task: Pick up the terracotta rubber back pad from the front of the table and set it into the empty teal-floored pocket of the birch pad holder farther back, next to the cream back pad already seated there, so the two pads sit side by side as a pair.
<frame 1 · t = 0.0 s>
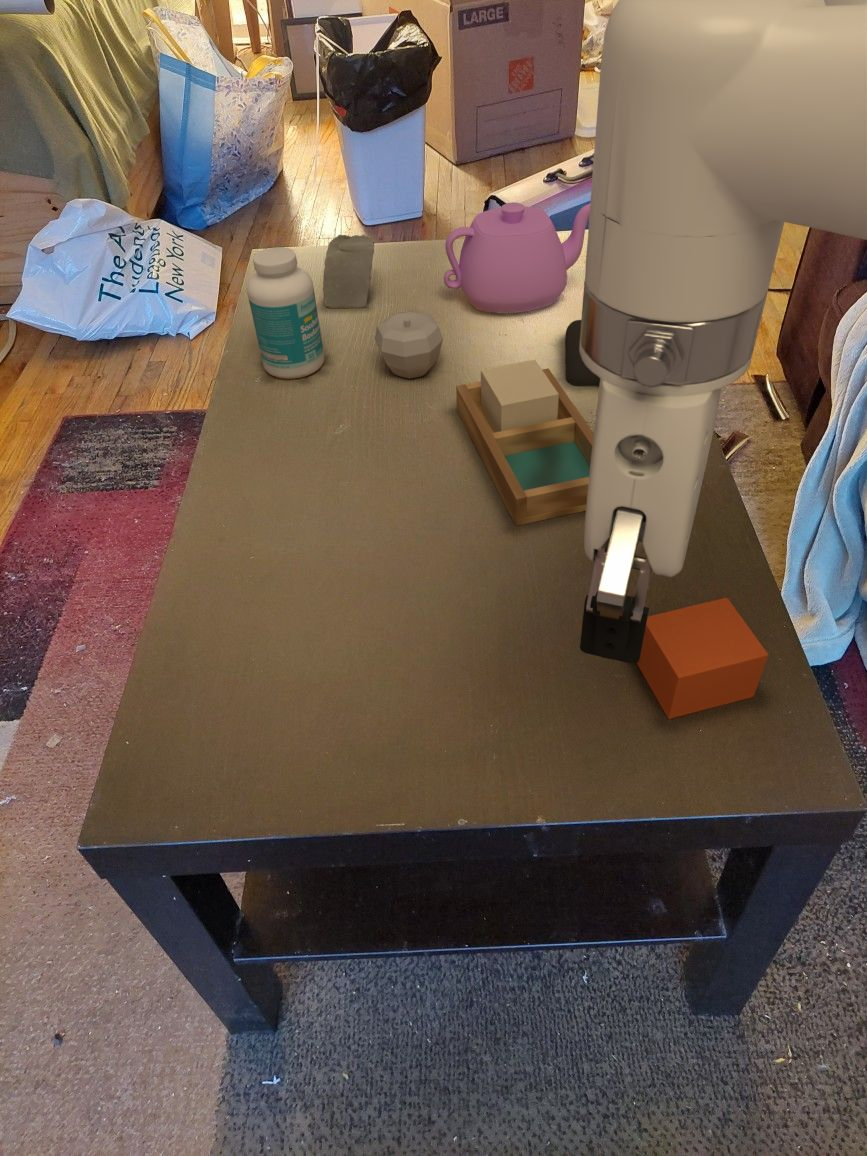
hand: (626, 592, 49), 17 cm above the table, tool pointing down, fingers open, 9 cm apart
pill bottle: (295, 366, 101), on the table
pad holder: (532, 454, 86), on the table
apple: (411, 372, 99), on the table
teapot: (520, 297, 111), on the table
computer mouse: (592, 361, 98), on the table
terracotta pad: (692, 678, 65), on the table
mineral specimen: (352, 297, 113), on the table
cream pad: (518, 422, 89), point 1 cm above the table, touching pad holder
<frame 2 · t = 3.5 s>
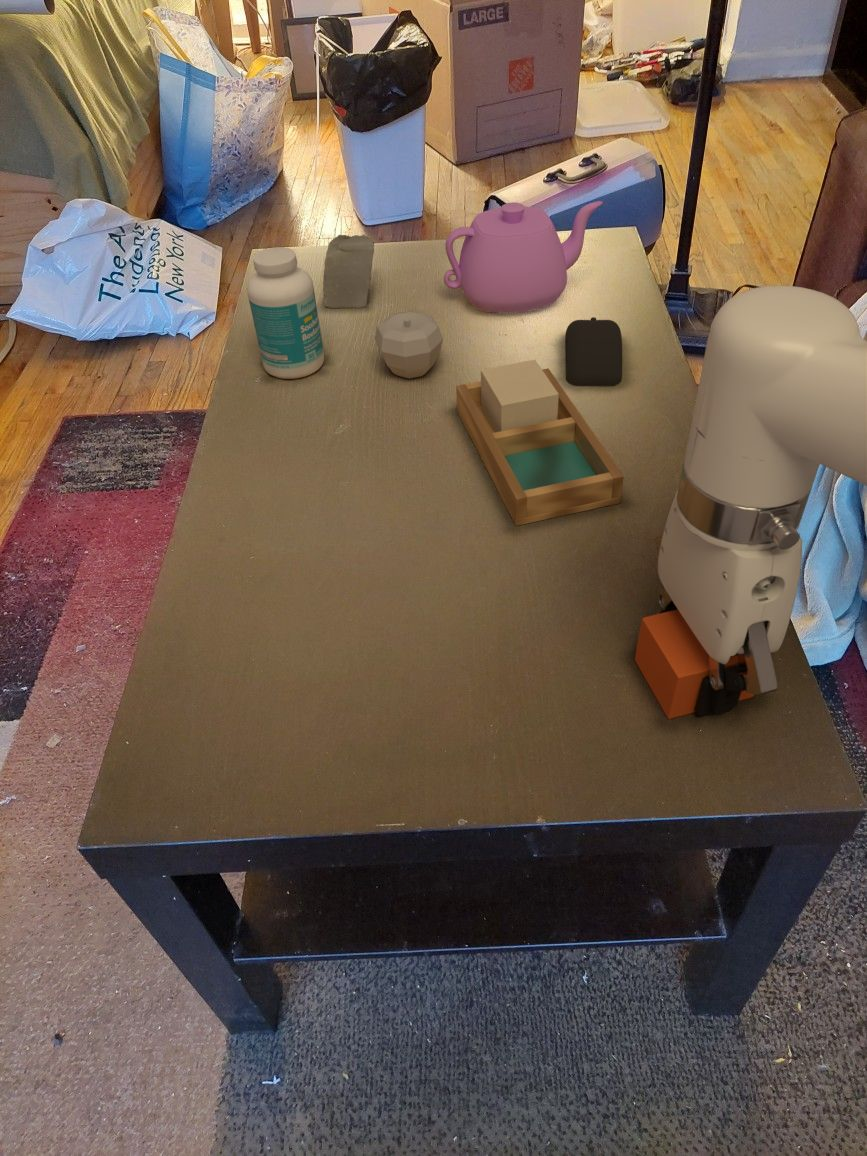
hand: (693, 673, 65), 1 cm above the table, tool pointing down, fingers closed on terracotta pad, 6 cm apart
terracotta pad: (692, 678, 65), on the table, touching gripper
everything else where it was.
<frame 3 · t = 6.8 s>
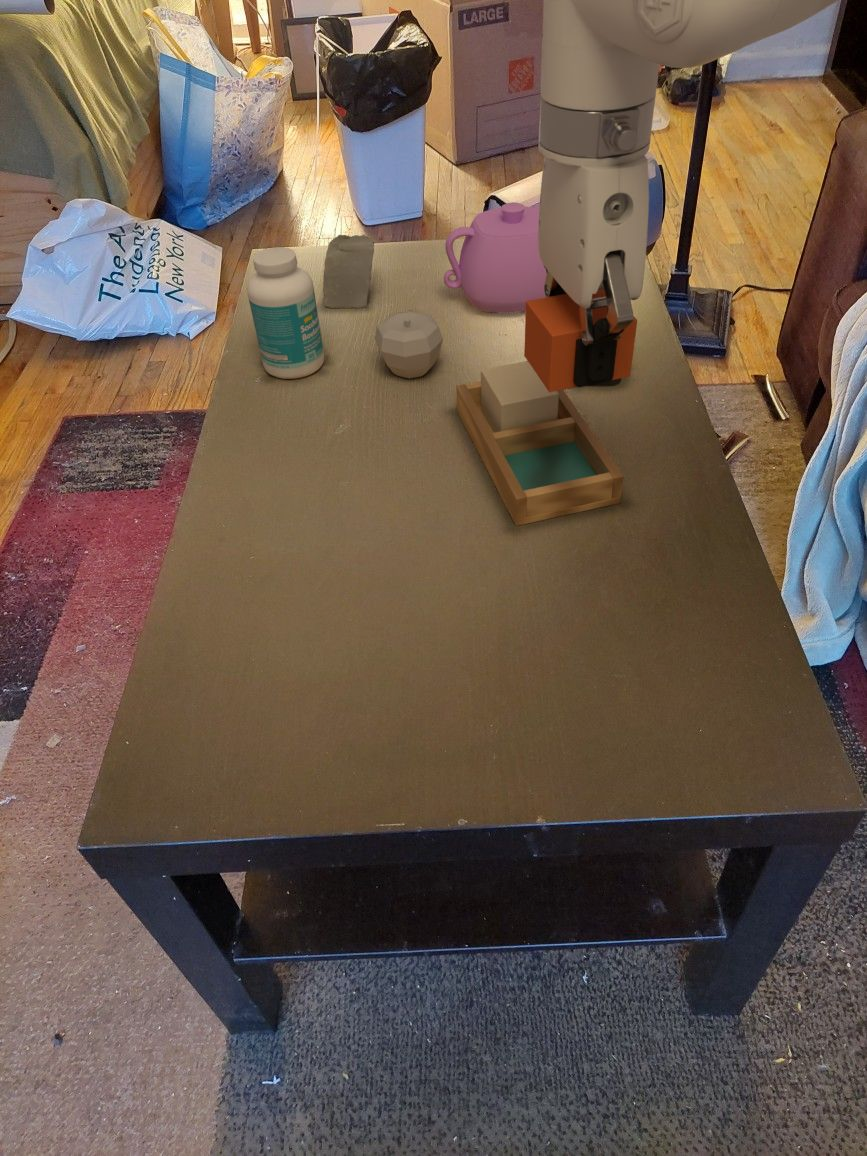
hand: (577, 359, 69), 16 cm above the table, tool pointing down, fingers closed on terracotta pad, 6 cm apart
terracotta pad: (576, 366, 70), point 15 cm above the table, touching gripper
everything else where it was.
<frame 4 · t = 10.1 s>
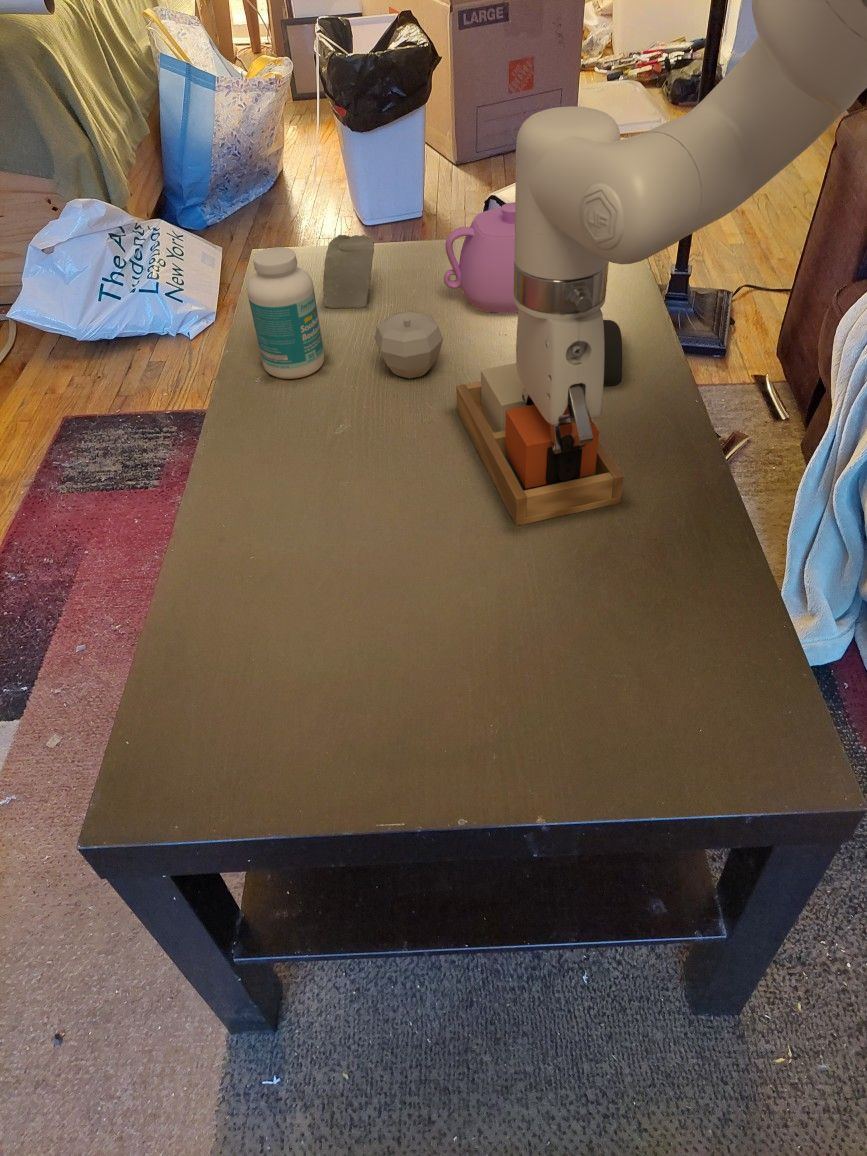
hand: (550, 458, 81), 3 cm above the table, tool pointing down, fingers closed on terracotta pad, 6 cm apart
terracotta pad: (549, 463, 81), point 2 cm above the table, touching gripper
everything else where it was.
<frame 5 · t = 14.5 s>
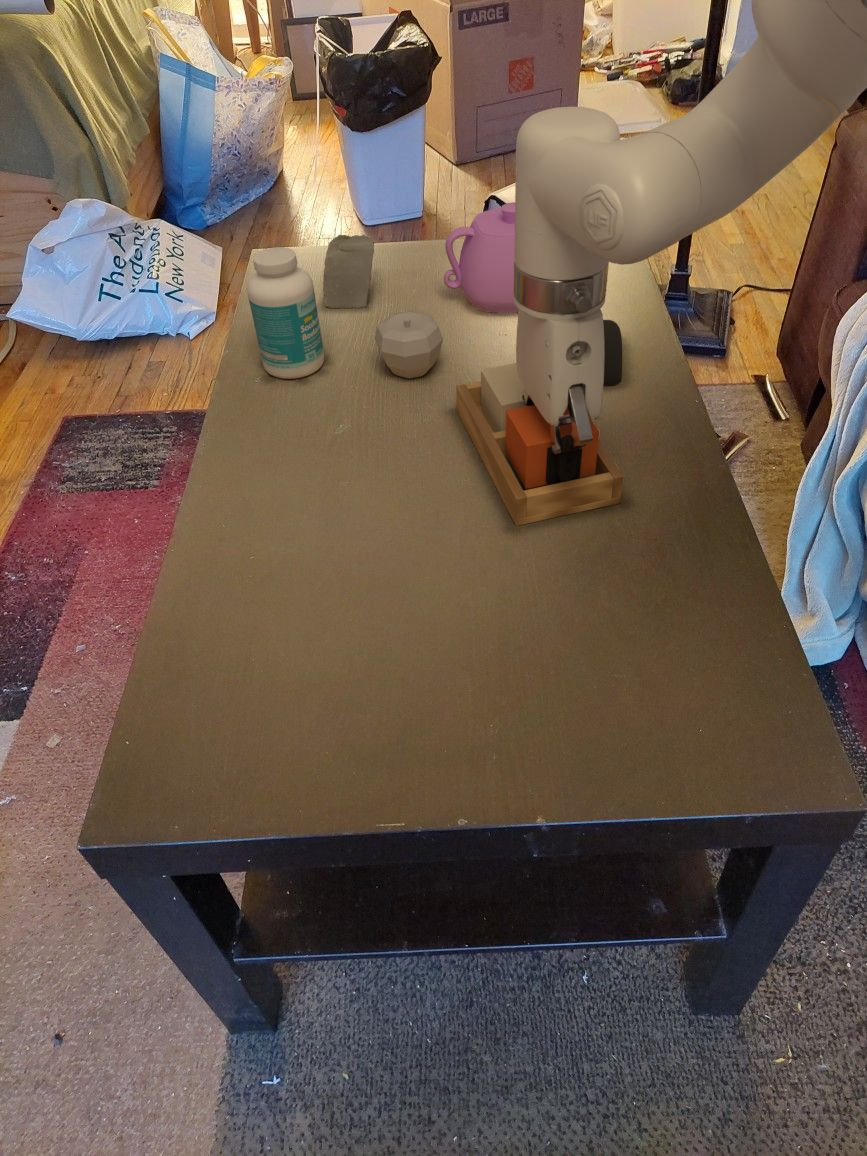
hand: (550, 458, 81), 3 cm above the table, tool pointing down, fingers closed on terracotta pad, 6 cm apart
terracotta pad: (549, 463, 81), point 2 cm above the table, touching gripper
everything else where it was.
when the fingers open (4 cm above the table, at t = 18.2 s): terracotta pad drops 2 cm, resting on pad holder.
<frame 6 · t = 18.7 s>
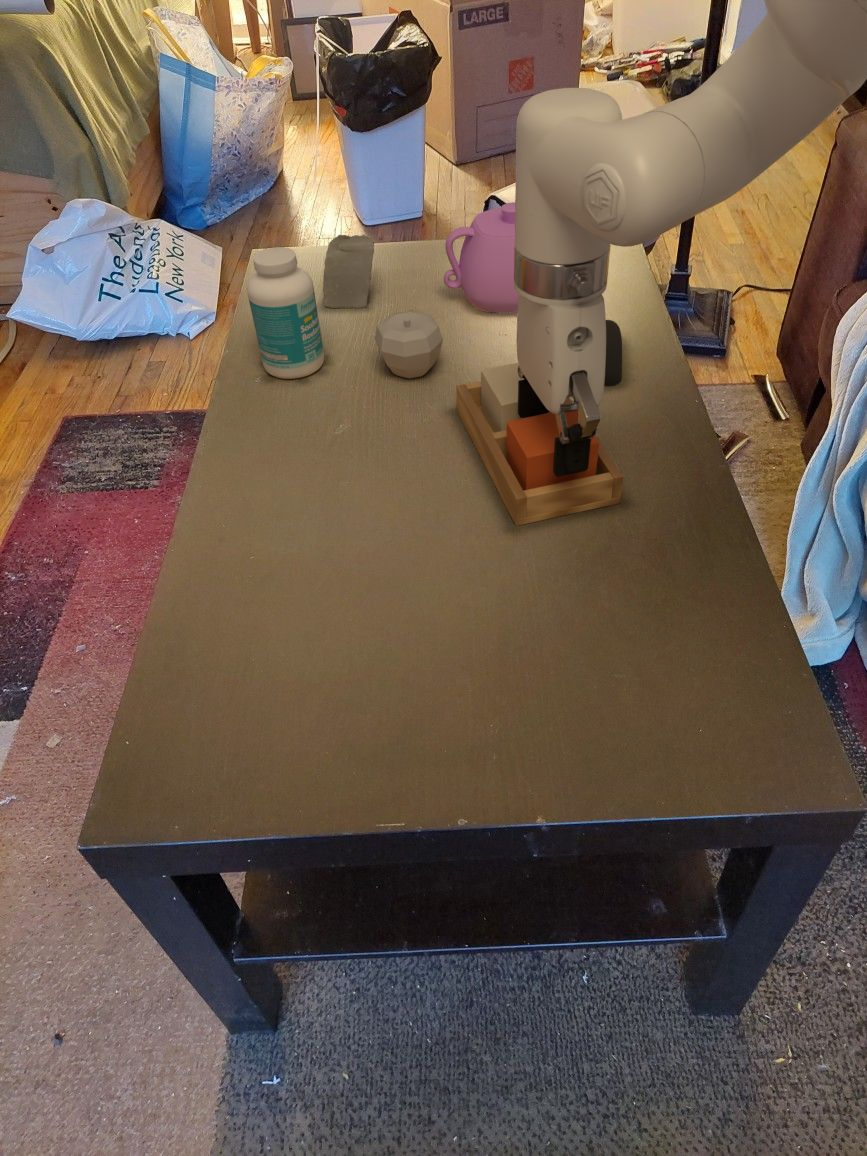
hand: (551, 441, 79), 5 cm above the table, tool pointing down, fingers open, 9 cm apart
terracotta pad: (549, 474, 82), point 1 cm above the table, touching pad holder
everything else where it was.
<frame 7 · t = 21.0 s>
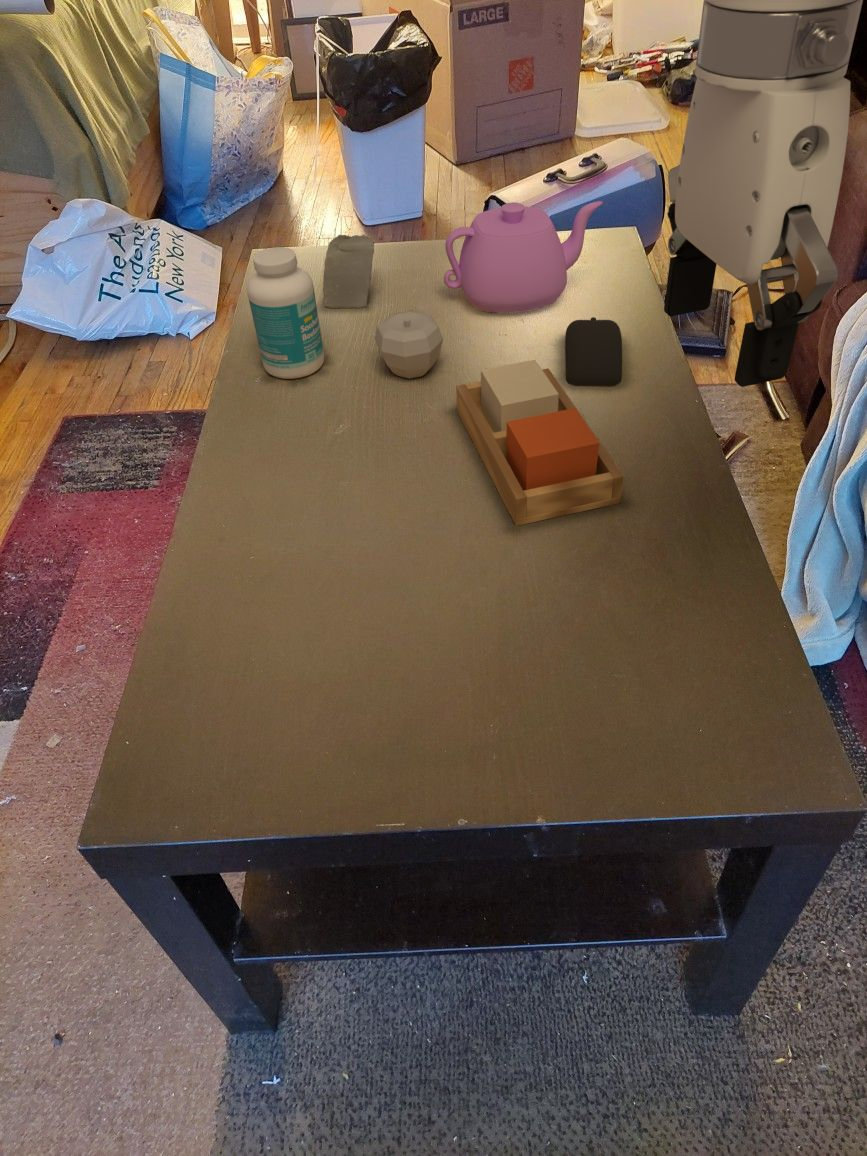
hand: (720, 343, 55), 23 cm above the table, tool pointing down, fingers open, 9 cm apart
nothing on the table moved.
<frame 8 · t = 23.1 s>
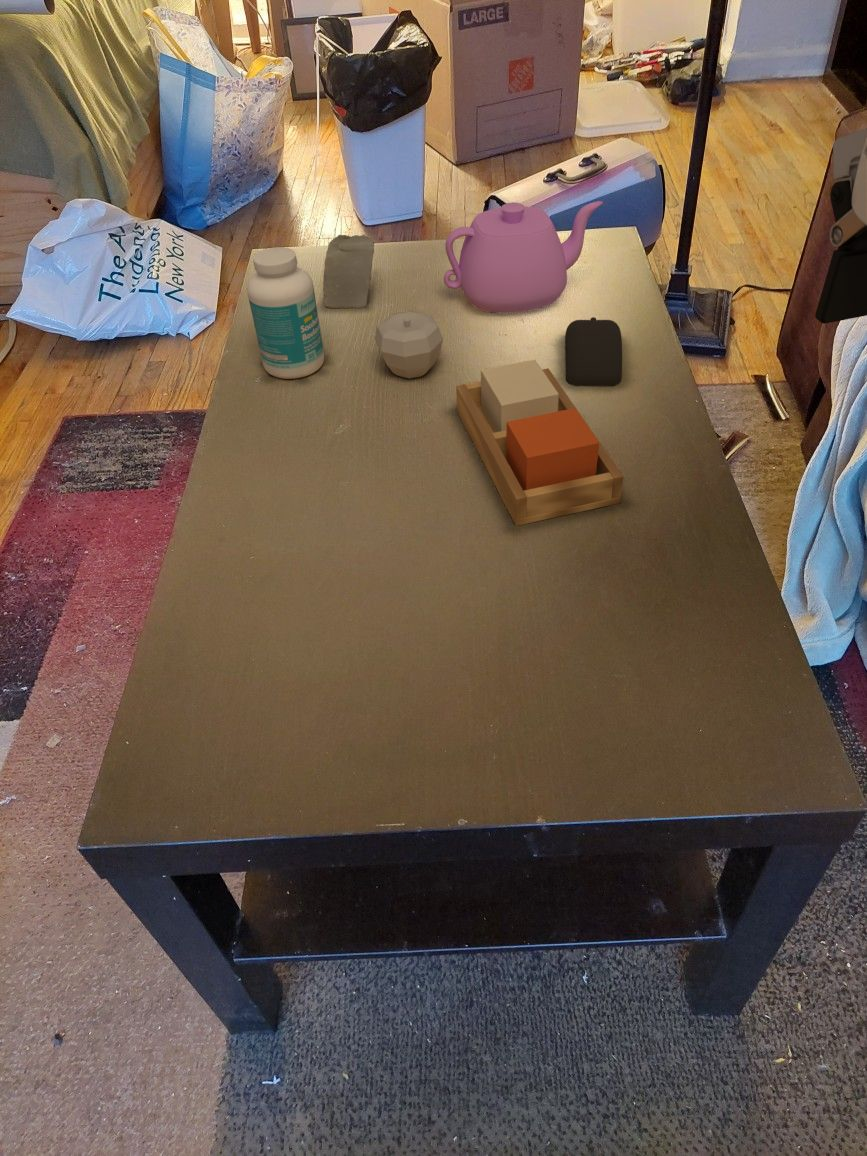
nothing on the table moved.
at the end: terracotta pad 0.0 cm from the target spot in the pad holder, point 1.0 cm above the pad holder's base; terracotta pad tilted 0°; cream pad moved 0.0 cm from its start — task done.
